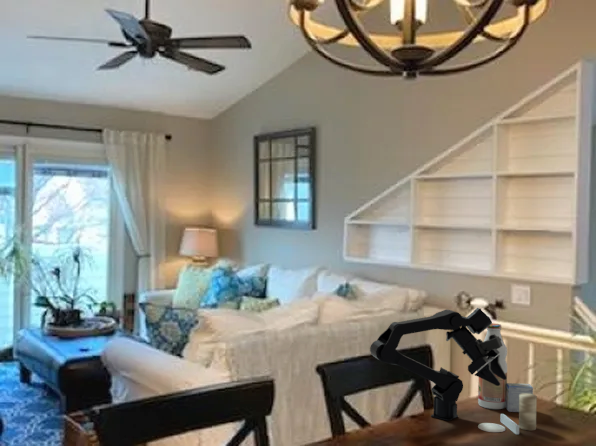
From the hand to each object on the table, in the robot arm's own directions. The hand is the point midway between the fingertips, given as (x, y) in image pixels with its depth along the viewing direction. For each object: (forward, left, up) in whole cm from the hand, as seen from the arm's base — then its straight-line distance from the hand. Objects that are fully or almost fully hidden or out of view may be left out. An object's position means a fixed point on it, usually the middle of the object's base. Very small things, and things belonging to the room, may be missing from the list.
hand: (502, 382), depth 209 cm
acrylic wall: (+4, -3, -13) cm, 14 cm away
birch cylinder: (+8, +1, -13) cm, 15 cm away
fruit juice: (-10, +16, -13) cm, 23 cm away
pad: (0, -7, -13) cm, 15 cm away
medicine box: (-1, +17, -13) cm, 22 cm away
